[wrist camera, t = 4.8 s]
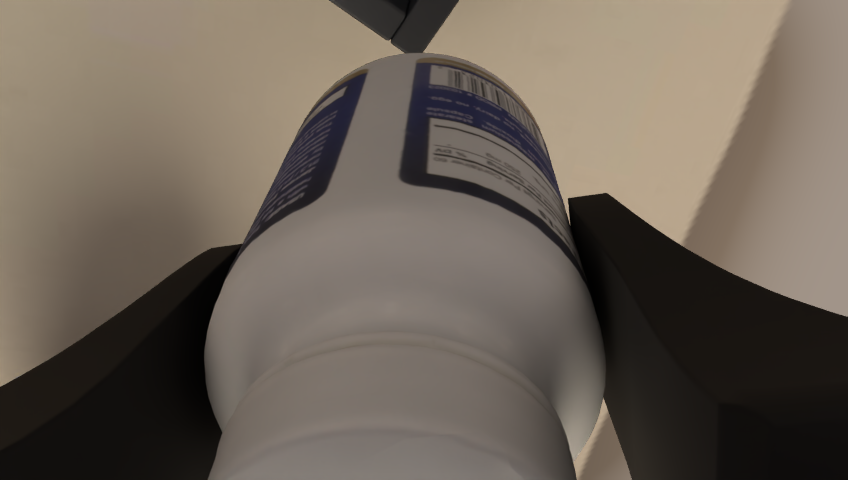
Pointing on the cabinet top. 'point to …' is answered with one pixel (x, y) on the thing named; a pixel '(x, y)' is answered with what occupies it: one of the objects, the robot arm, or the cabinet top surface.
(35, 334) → the cabinet top surface
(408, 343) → the pill bottle
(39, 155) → the cabinet top surface
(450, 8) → the bin
